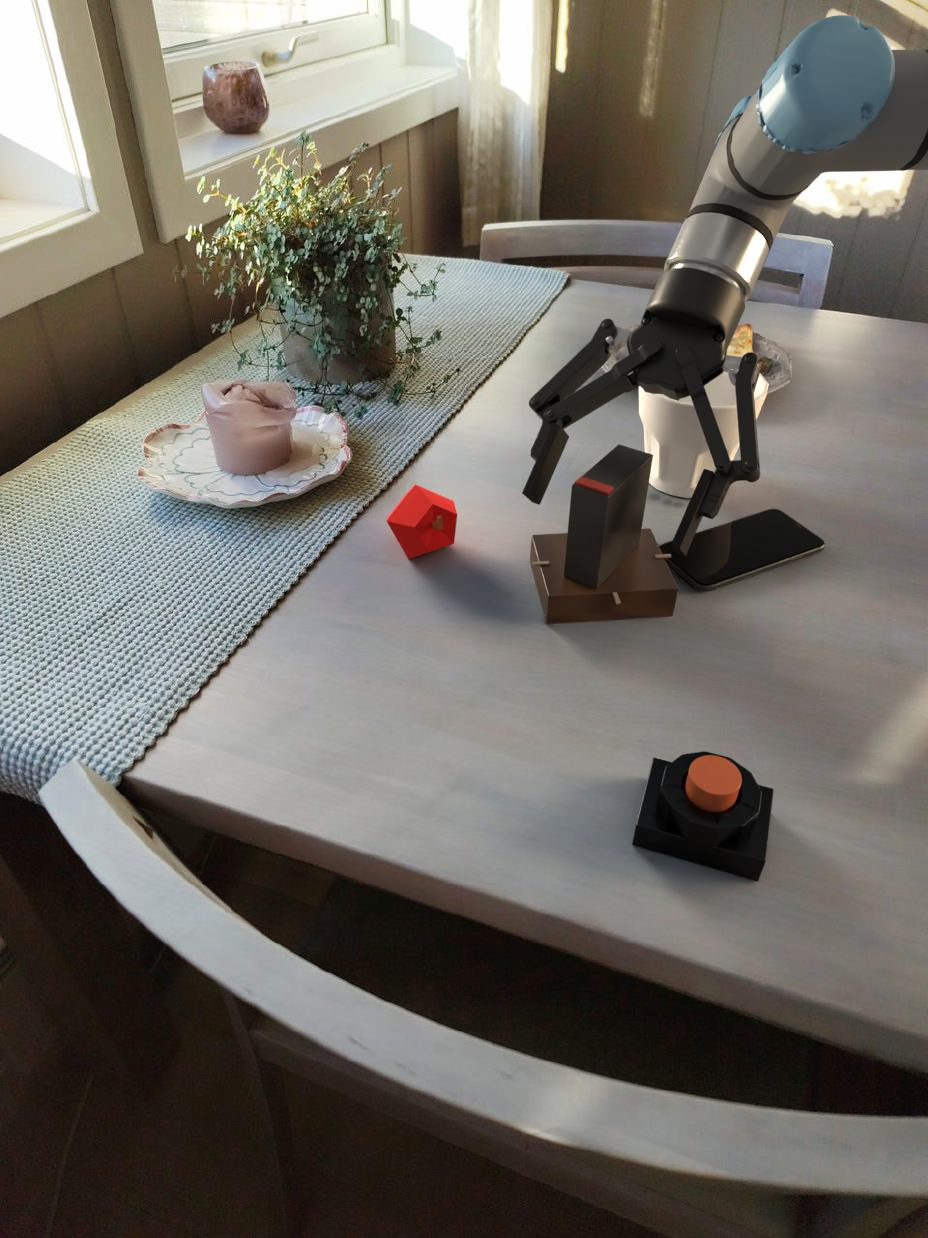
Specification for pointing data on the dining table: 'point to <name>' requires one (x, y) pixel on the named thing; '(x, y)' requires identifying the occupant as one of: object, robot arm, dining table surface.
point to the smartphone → (742, 549)
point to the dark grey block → (606, 515)
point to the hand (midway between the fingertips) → (601, 524)
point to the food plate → (768, 353)
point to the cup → (689, 433)
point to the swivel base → (603, 584)
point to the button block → (704, 821)
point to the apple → (423, 522)
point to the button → (713, 783)
